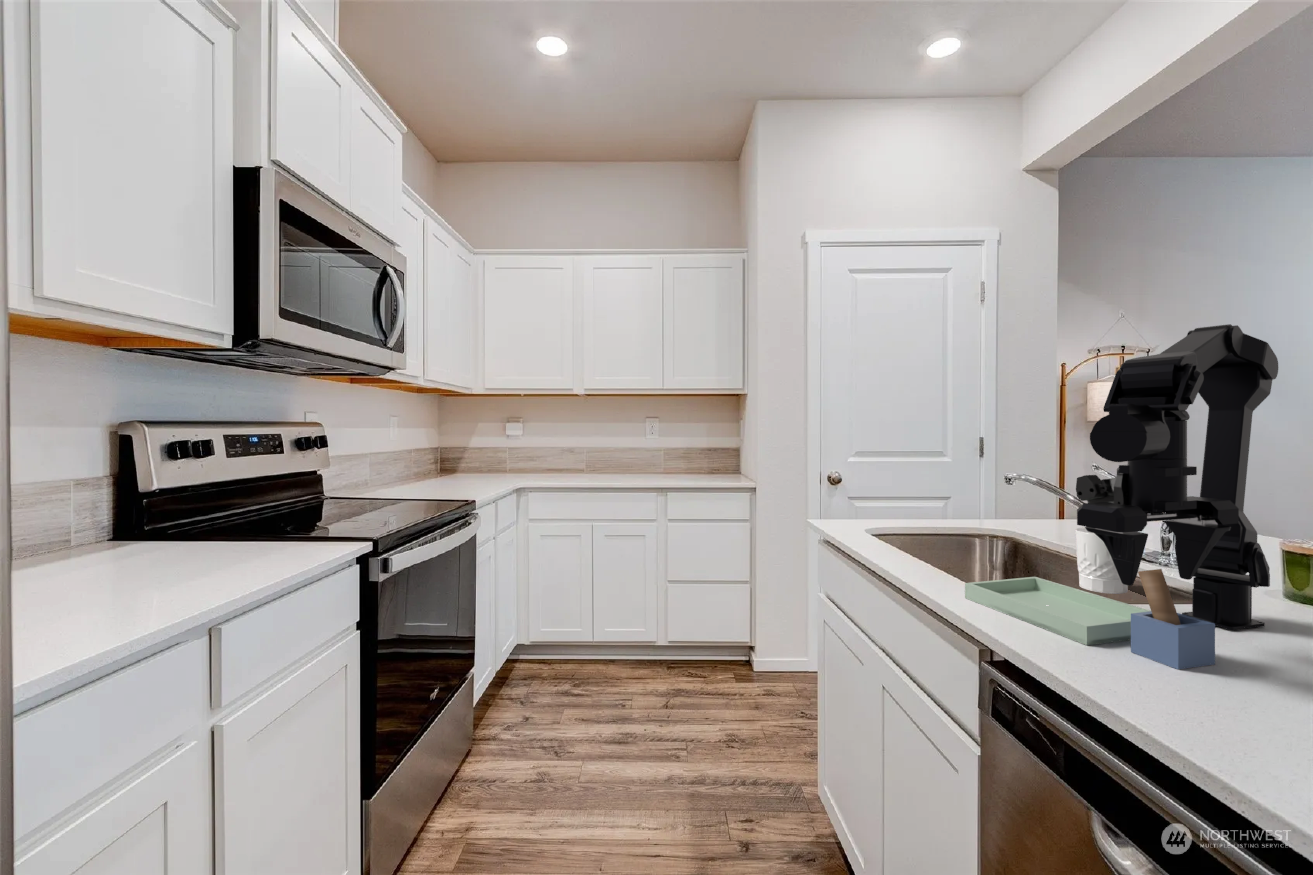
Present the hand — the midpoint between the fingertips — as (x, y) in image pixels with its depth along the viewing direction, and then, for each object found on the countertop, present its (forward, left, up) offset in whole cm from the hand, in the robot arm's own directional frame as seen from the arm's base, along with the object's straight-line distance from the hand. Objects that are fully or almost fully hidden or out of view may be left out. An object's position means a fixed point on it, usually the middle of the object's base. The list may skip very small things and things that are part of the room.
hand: (1156, 581), depth 75 cm
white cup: (-20, -24, -9) cm, 33 cm away
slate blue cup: (0, +2, -9) cm, 9 cm away
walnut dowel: (0, +1, -3) cm, 4 cm away
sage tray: (-1, -15, -9) cm, 18 cm away
